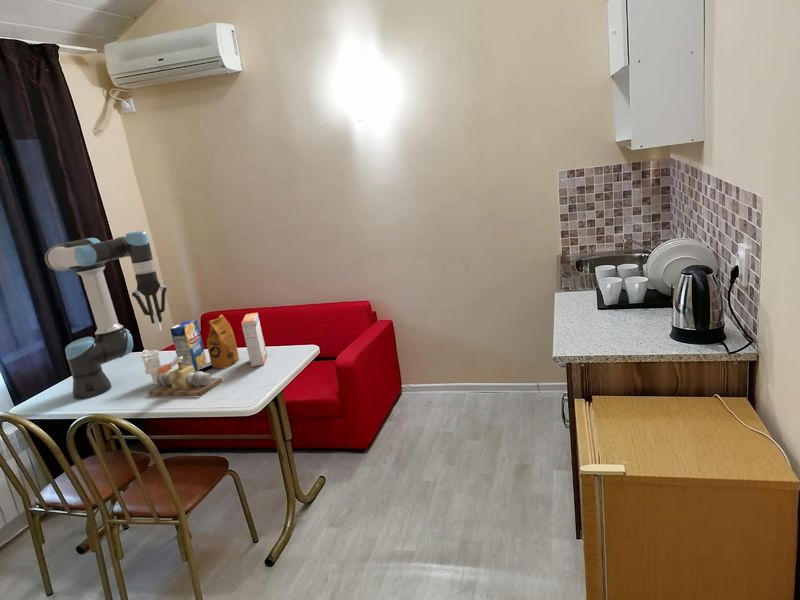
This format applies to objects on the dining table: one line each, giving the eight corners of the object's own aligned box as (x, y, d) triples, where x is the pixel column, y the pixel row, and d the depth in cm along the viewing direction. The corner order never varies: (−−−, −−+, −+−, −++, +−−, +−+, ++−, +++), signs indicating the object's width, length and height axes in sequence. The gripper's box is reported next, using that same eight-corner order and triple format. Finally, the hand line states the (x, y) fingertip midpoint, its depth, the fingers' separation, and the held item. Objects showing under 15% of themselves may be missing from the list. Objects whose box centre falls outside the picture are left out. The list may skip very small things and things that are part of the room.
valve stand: (149, 395, 243) (142, 369, 240) (173, 382, 256) (166, 356, 253) (200, 396, 234) (193, 369, 231) (222, 382, 246) (216, 356, 243)
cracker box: (254, 357, 273) (245, 314, 268) (267, 355, 274) (258, 311, 269) (250, 367, 260) (240, 322, 255) (264, 365, 260) (254, 319, 255)
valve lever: (178, 360, 244) (177, 356, 243) (185, 360, 243) (184, 355, 242) (157, 373, 230) (156, 369, 230) (165, 373, 230) (163, 368, 229)
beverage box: (181, 376, 263) (170, 328, 257) (194, 366, 273) (183, 321, 268) (195, 374, 261) (184, 327, 256) (207, 365, 272) (196, 319, 266)
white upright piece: (157, 379, 263) (149, 347, 259) (169, 380, 259) (161, 347, 256) (145, 385, 257) (136, 353, 253) (156, 386, 253) (147, 353, 250)
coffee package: (208, 369, 266) (197, 322, 261) (224, 359, 278) (214, 314, 272) (227, 369, 263) (216, 321, 258) (242, 358, 274) (232, 313, 269)
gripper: (125, 276, 222) (140, 336, 228) (162, 270, 225) (175, 329, 231) (128, 273, 229) (142, 331, 235) (164, 267, 232) (177, 324, 238)
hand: (159, 330), depth 233 cm, fingers closed
